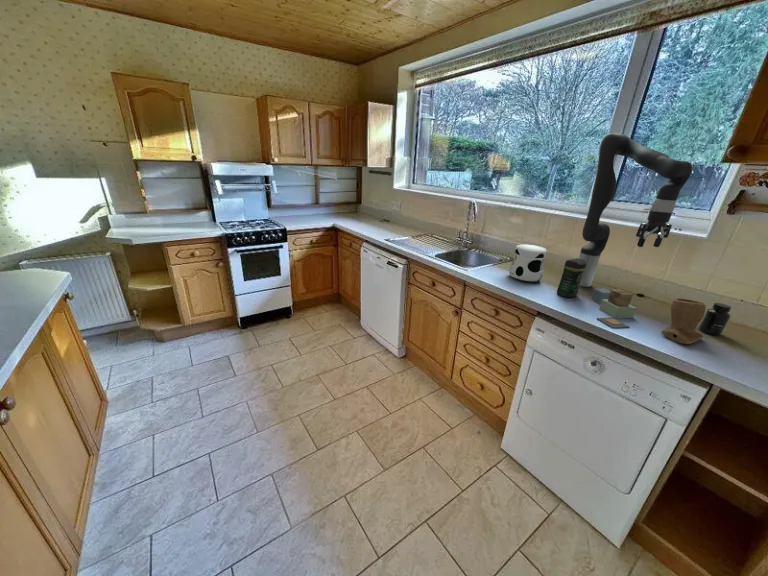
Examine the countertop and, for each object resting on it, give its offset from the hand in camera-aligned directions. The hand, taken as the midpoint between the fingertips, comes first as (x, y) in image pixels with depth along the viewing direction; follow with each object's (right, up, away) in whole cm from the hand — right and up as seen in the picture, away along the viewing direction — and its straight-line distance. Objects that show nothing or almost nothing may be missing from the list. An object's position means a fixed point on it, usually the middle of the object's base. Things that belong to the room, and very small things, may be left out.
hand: (647, 246), depth 144 cm
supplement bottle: (+12, -37, -15) cm, 42 cm away
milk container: (-41, -14, +35) cm, 55 cm away
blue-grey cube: (-15, -25, +10) cm, 31 cm away
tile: (-25, -33, -12) cm, 43 cm away
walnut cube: (-17, -25, -4) cm, 31 cm away
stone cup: (-5, -38, -20) cm, 43 cm away
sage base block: (-16, -30, -2) cm, 34 cm away
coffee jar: (-28, -22, +15) cm, 39 cm away
